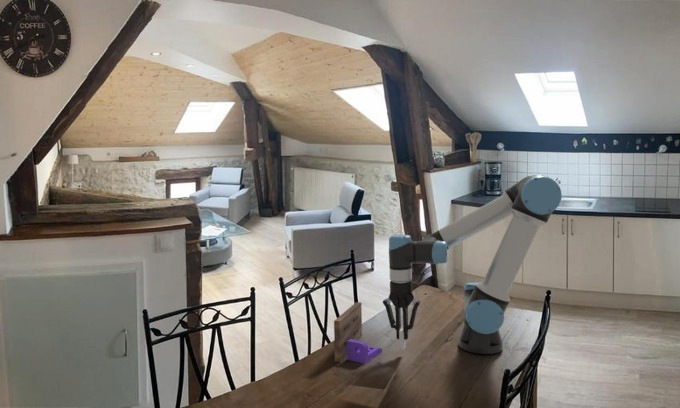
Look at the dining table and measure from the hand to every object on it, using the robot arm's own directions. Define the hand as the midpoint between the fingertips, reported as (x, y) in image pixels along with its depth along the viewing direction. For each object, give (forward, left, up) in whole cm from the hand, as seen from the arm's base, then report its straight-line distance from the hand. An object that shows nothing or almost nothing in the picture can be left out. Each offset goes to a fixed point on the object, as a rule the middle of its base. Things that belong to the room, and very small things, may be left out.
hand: (402, 348), depth 171 cm
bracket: (+12, +4, -3) cm, 13 cm away
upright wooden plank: (+19, 0, -3) cm, 20 cm away
